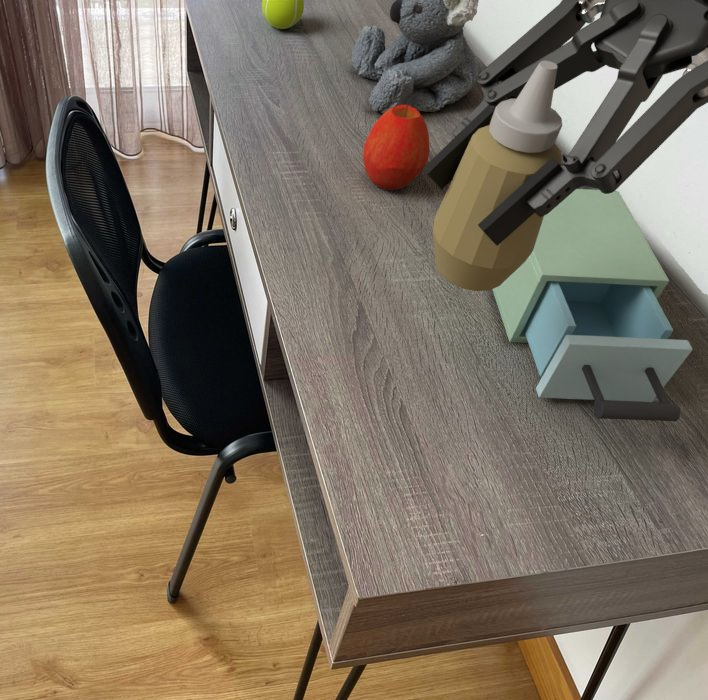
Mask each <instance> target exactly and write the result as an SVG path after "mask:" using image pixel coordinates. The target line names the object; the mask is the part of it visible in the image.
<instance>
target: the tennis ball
mask: <svg viewBox="0 0 708 700" xmlns="http://www.w3.org/2000/svg"><path fill="white" fill-rule="evenodd" d="M304 10H305V1H304V0H261V12H262V15H263V18H264V20H265V21H266V22H267V23H268V24H269V25H270V26H271V27H273V28H275V29H279V30H286V29H290V28H292V27H294V26H295V25H297V24H298V22H299V21H300V20H301V19H302V16H303V13H304Z"/></svg>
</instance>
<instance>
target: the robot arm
mask: <svg viewBox="0 0 708 700" xmlns="http://www.w3.org/2000/svg"><path fill="white" fill-rule="evenodd" d="M599 14H600V16H599V18H595V17H596V16H597V15H599ZM586 23H587V25H586ZM593 45H594V48H595V50H593V48H592V46H593ZM541 61H551V62H553V63H555V64H556V65H557V73H556V79H555V85H554V90H557V89H558V88H560V87H562V86H563V85H565V84H566V83H568V82H570V81H572V80H574V79H576V78H578V77H579V76H581V75H583V74H584V73H587V72H588V73H594V72H596V71H598V70H600V69H602V68H604V67H605V66H607V67H608V68H611V69H615V70H617V71H618V72H617V76H616V79H615V81H614V83H613V84H612V86H611V88H610V89H609V91H608V92H607V94H606V96H605V97H604V98H603V100H602V101H601V103H600V105H599V106H598V108H597V109H596V111H595V113H594V114H593V116H592V118H591V119H590V120H589V122H588V124H587V125H586V127H585V128H584V130H583V131H582V133H581V134H580V136H579V138H578V139H577V141H576V143H575V144H574V145H573V146H572V149H571V150H570V151H569V153H568V154H564V153H561V160H562V162H561V163H562V164H563V166H562V165H560V164H559V163H558V162H557V161H556V160H555V159H553V158H551V159H550V160H549V161H548V162H546V163H545V164H544V165H543V166H542V167H541V168H540V169H539V170H538V171H537V172H535V173H534V174H533V175H532V176H531V177H530V178H529V179H528V180H527V181H525V182H524V183H523V184H522V185H521V186H520V187H519V188H518V189H517V190H516V191H514V192H513V193H512V194H511V195H510V196H509V197H508V198H507V199H506V200H504V201H503V202H502V203H501V204H500V205H499V206H498V207H497V208H496V209H495V210H493V211H492V212H491V213H490V214H489V215H488V216H487V217H486V218H485V219H483V220H482V221H481V222H480V223H479V224H478V226H479V227H480V228H481V229H482V230H483V232H484V233H485V234H486V235H487V236H488V237H489V238H490V239H491V240H492V241H493V242H494V243H495V244H496V246H498V245H499V244H500V243H501V242H502V241H503V240H504V239H506V238H507V237H508V236H509V235H510V234H511V233H512V232H514V231H515V230H516V229H517V228H518V227H519V226H520V225H521V224H523V223H524V222H525V221H526V220H527V219H528V218H529V217H531V216H532V215H533V214H534V213H536V214H537V215H538V216H539V217H542V216H544V215H547V214H548V213H550V212H551V211H552V210H553V209H554V208H555V207H556V206H557V205H559V203H561V202H562V201H563V200H564V199H565V198H567V197H568V196H569V195H570V194H571V193H572V192H573V191H575V190H576V189H580V188H581V187H590V188H593V189H595V190H600V191H601V192H602V193H604V194H610V193H612V192H614V191H617V189H619V187H620V186H622V185H623V183H624V182H625V181H627V180H628V179H629V178H630V177H631V176H632V175H633V173H635V172H636V170H638V169H639V168H640V167H641V166H642V165H643V163H645V161H646V160H647V159H649V157H651V156H652V155H653V154H654V153H655V152H656V151H657V150H658V149H659V147H661V146H662V145H663V144H664V143H665V142H666V140H668V139H669V138H670V137H671V136H672V134H674V133H675V132H676V131H677V130H678V129H679V128H680V126H682V125H683V124H684V123H685V122H686V121H687V120H688V119H689V118H690V117H691V116H692V115H693V114H694V113H695V112H696V111H697V110H698V109H699V108H701V107H703V106H705V105H706V104H708V0H561V1H560V3H559V4H557V6H555V7H554V8H553V9H552V10H550V12H548V13H547V14H545V16H543V18H542V19H540V20H539V21H538V22H536V24H534V25H533V26H532V27H530V29H529V30H528V31H526V32H525V33H524V34H523V35H522V36H521V37H519V38H518V39H517V40H516V41H515V42H514V43H513V44H511V45H510V46H509V47H508V48H507V49H506V50H505V51H503V52H502V53H501V54H500V55H499V56H498V57H496V59H494V60H493V61H492V62H490V63H489V64H488V65H487V66H486V67H485V68H484V69H482V71H480V72H479V73H478V74H477V80H476V82H477V84H478V85H479V87H480V89H481V92H482V94H483V98H482V100H481V102H480V103H479V104H478V105H477V106H476V107H475V108H474V109H473V110H472V111H470V113H469V114H468V115H467V116H466V117H465V118H464V119H463V120H462V121H461V122H460V123H458V125H456V127H455V128H454V129H453V130H452V133H451V134H452V135H453V136H454V138H452V139H451V141H449V142H448V143H447V144H446V145H444V147H443V148H442V149H441V150H440V151H439V152H438V153H437V154H436V155H434V157H433V158H432V159H430V161H429V162H427V163H426V165H425V167H424V168H422V169H423V172H424V173H425V174H426V175H427V176H428V177H429V178H430V179H431V181H433V182H434V183H433V184H435V185H436V186H437V187H438V189H440V190H441V191H442V190H444V188H446V187H447V186H449V185H450V183H451V181H452V179H453V177H454V175H455V172H456V170H457V168H458V166H459V164H460V161H461V159H462V157H463V155H464V153H465V151H466V148H467V146H468V144H469V142H470V140H471V137H472V135H473V134H474V133H475V132H476V131H477V130H478V129H479V128H482V127H485V126H488V125H490V122H491V119H492V116H493V113H494V111H495V108H496V106H497V105H498V104H499V103H500V102H502V101H505V100H509V99H517V97H518V96H519V94H520V93H521V91H522V90H523V88H524V86H525V85H526V83H527V82H528V80H529V79H530V77H531V75H532V74H533V72H534V71H535V69H536V68H537V66H538V64H539V63H540V62H541ZM684 69H685V70H684ZM680 70H684V71H683V73H682V75H681V76H680V77H679V78H678V79H676V81H674V82H673V83H672V84H671V85H670V86H669V87H668V88H667V89H666V90H665V91H664V92H663V93H662V94H661V95H660V96H659V97H658V98H657V99H656V100H655V101H654V102H653V103H652V105H650V106H649V107H648V108H647V109H646V110H645V112H644V113H643V114H642V115H641V116H639V118H637V120H635V122H634V123H633V124H632V125H630V127H629V128H628V129H627V130H626V131H625V132H624V130H625V129H626V127H627V125H628V124H629V122H630V121H631V119H632V118H633V116H634V115H635V113H636V111H638V108H639V107H640V106H641V104H642V103H645V102H647V100H648V99H649V98H650V96H651V95H652V93H653V92H654V90H655V88H656V87H657V85H658V84H659V82H660V81H661V79H662V78H663V76H665V75H667V74H671V73H674V72H677V71H680ZM623 132H624V133H623ZM622 133H623V134H622Z"/></svg>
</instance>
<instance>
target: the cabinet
mask: <svg viewBox="0 0 708 700" xmlns="http://www.w3.org/2000/svg"><path fill="white" fill-rule="evenodd" d="M547 281H559V282H580V283H601V284H622V285H643V286H650V288H651V290H652V291H653V293H654V295H655V297H656V299H657V300H658V299H659V297H660V296H661V295H662V293H663V291H664V290H665V288H666V287H667V285H668V284H669V282H670V280H669V277H668V276H667V274H666V272H665V271H664V269H663V267H662V265H661V263H660V262H659V259H658V258H657V256H656V255H655V253H654V251H653V250H652V248H651V246H650V244H649V242H648V241H647V239H646V237H645V235H644V234H643V231H642V230H641V228H640V227H639V225H638V223H637V221H636V220H635V218H634V216H633V214H632V212H631V211H630V209H629V207H628V205H627V203H626V202H625V200H624V198H623V197H622V195H621V193H620V191H619V190H615V191H614V192H612V193H610V194H604V193H602V192H601V191H600V190H599V189H587V188H586V189H585V188H577V189H576V190H575V191H573V192H572V193H571V194H570V195H569V196H568V197H567V198H565V199H564V200H563V201H562V202H561V203H559V205H557V206H556V207H555V208H554V209H553V210H552V211H551V212H550V213H548V214H547V215H544V218H543V221H542V224H541V227H540V230H539V234H538V237H537V240H536V243H535V246H534V249H533V252H532V253H531V254H530V256H529V257H528V259H527V260H526V261H525V262H524V263H523V264H522V265H521V266H520V267H519V268H518V269H517V270H516V271H515V272H514V273H513V274H512V275H511V276H509V277H508V278H507V279H506V280H505V281H504V282H503V283H502V284H501V285H500V286H498V287H496V288H494V289H491V291H492V293H493V296H494V298H495V301H496V305H497V308H498V311H499V314H500V318H501V320H502V324H503V326H504V330H505V333H506V337H507V339H508V341H509V343H519V344H520V343H521V344H522V343H523V344H529V343H528V340H527V337H526V335H525V332H524V329H523V328H524V326H525V324H526V322H527V320H528V318H529V316H530V314H531V312H532V310H533V308H534V306H535V304H536V302H537V300H538V298H539V296H540V294H541V292H542V290H543V288H544V286H545V284H546V282H547Z"/></svg>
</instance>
